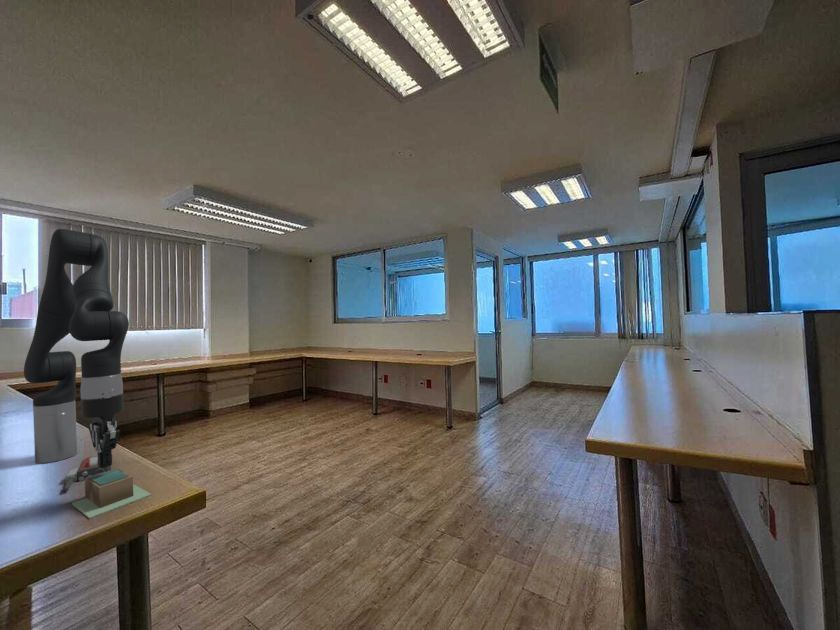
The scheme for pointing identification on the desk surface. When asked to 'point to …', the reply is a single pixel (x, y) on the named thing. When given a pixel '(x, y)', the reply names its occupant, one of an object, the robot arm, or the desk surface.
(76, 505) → the mat
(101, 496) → the brown teal box
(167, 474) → the desk surface
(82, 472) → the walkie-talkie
